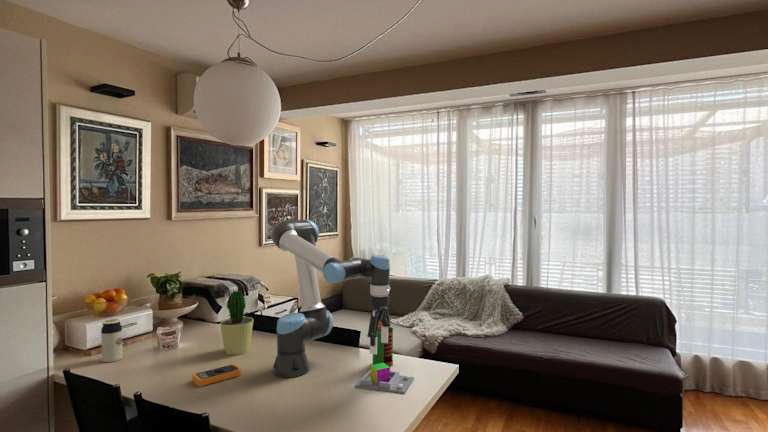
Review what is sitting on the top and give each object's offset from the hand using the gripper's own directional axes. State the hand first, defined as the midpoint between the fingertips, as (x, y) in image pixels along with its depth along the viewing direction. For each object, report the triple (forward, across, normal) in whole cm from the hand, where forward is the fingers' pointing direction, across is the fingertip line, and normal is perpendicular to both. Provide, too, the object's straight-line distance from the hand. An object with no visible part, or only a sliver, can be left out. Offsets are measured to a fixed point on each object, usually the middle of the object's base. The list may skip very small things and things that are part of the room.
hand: (379, 348), depth 170 cm
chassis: (+14, 0, -3) cm, 14 cm away
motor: (+14, +18, +4) cm, 23 cm away
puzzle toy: (+13, 0, -1) cm, 13 cm away
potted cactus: (+16, +14, +77) cm, 80 cm away
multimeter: (+16, -16, +64) cm, 68 cm away
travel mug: (+17, -13, +125) cm, 127 cm away
